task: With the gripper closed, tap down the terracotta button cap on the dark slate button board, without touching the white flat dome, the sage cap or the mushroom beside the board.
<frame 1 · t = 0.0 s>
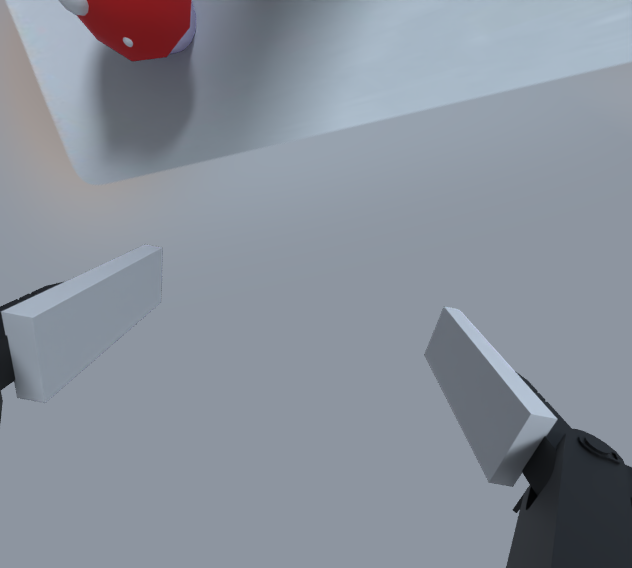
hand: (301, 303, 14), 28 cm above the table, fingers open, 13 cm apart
mushroom: (169, 19, 34), on the table
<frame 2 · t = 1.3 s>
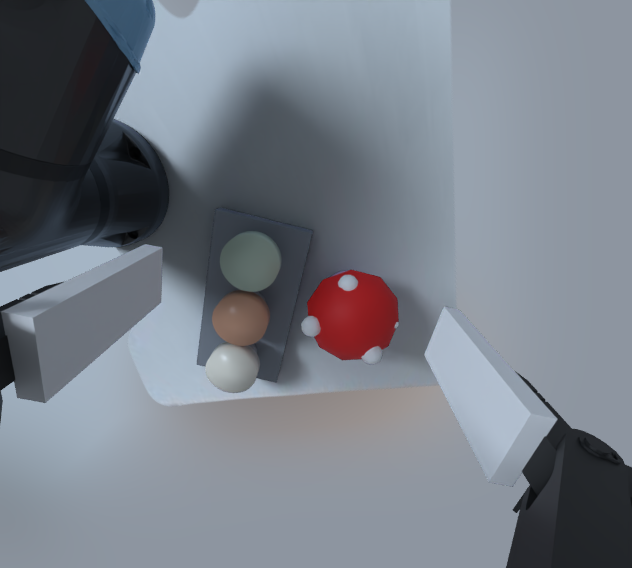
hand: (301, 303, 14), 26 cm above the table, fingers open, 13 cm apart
button board: (252, 299, 44), on the table
mushroom: (348, 290, 43), on the table
terracotta cap: (241, 317, 38), point 6 cm above the table, slide at 0.0 cm
white flat dome: (233, 367, 41), point 6 cm above the table, slide at 0.0 cm
sage cap: (251, 261, 36), point 6 cm above the table, slide at 0.0 cm
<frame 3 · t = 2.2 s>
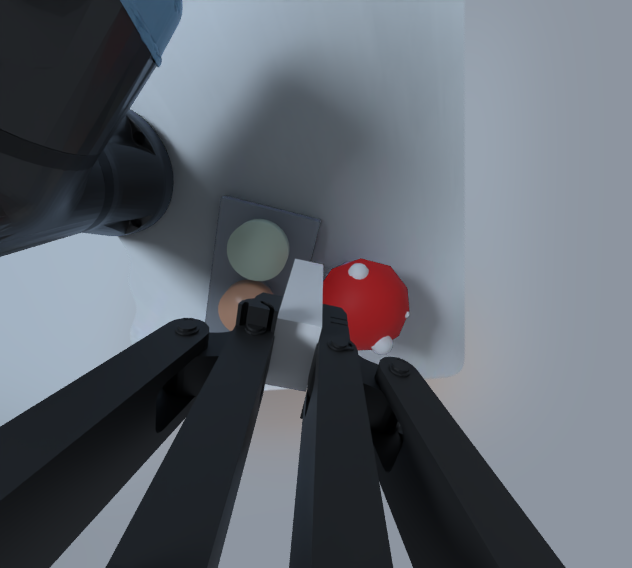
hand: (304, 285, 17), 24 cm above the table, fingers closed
button board: (257, 290, 43), on the table
mushroom: (355, 281, 42), on the table
terracotta cap: (248, 308, 38), point 6 cm above the table, slide at 0.0 cm
sage cap: (259, 250, 35), point 6 cm above the table, slide at 0.0 cm
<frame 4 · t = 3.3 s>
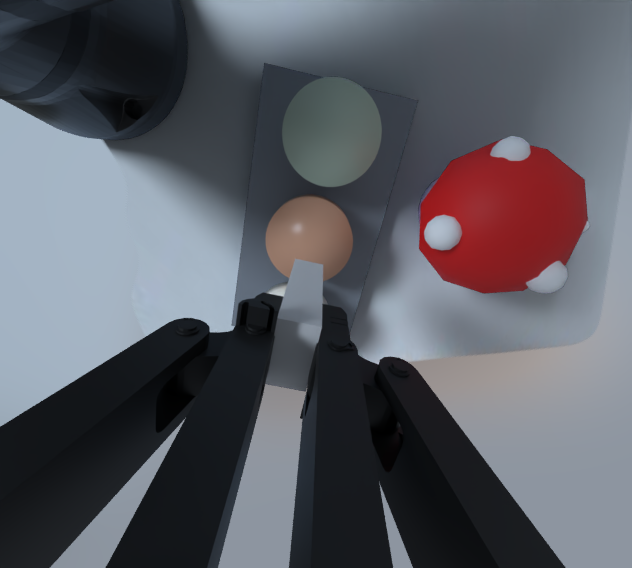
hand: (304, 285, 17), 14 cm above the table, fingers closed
button board: (312, 224, 30), on the table
mushroom: (455, 205, 29), on the table
terracotta cap: (309, 239, 24), point 6 cm above the table, slide at 0.0 cm
white flat dome: (292, 321, 27), point 6 cm above the table, slide at 0.0 cm
sage cap: (331, 136, 22), point 6 cm above the table, slide at 0.0 cm
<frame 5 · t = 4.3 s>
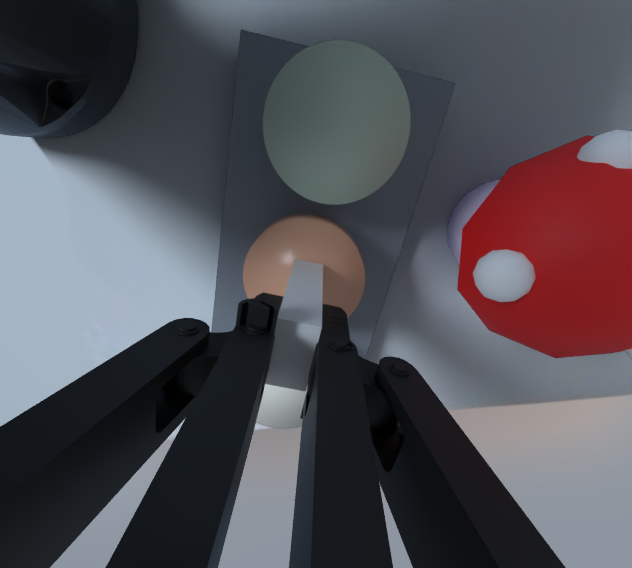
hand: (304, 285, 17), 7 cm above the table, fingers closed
button board: (309, 247, 23), on the table
mushroom: (495, 223, 22), on the table
terracotta cap: (305, 273, 18), point 6 cm above the table, slide at 0.0 cm, touching gripper
white flat dome: (282, 377, 21), point 6 cm above the table, slide at 0.0 cm
sage cap: (335, 131, 15), point 6 cm above the table, slide at 0.0 cm
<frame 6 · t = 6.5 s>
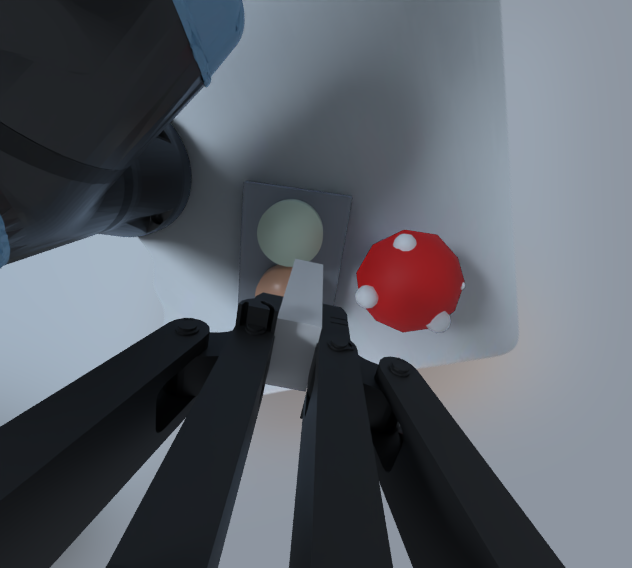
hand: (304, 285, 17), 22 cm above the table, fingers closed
button board: (289, 280, 40), on the table
mushroom: (393, 260, 39), on the table
terracotta cap: (285, 293, 36), point 4 cm above the table, slide at 1.4 cm
sage cap: (291, 233, 32), point 6 cm above the table, slide at 0.0 cm
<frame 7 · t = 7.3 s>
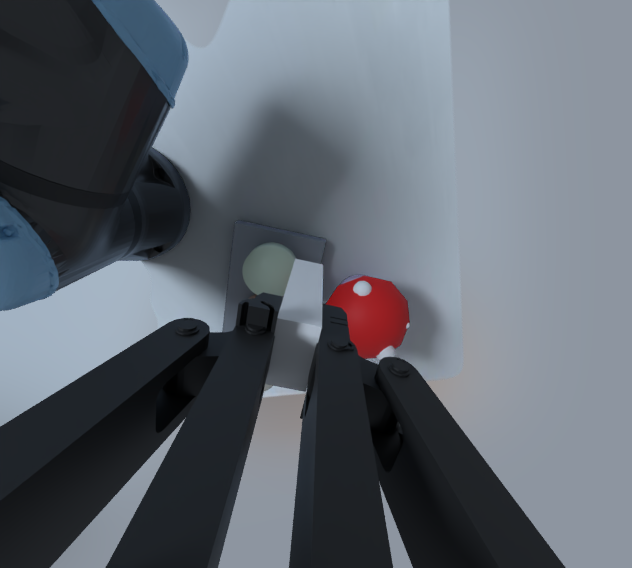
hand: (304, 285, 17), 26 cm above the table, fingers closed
button board: (269, 304, 46), on the table
mushroom: (359, 293, 46), on the table
terracotta cap: (264, 318, 42), point 4 cm above the table, slide at 1.4 cm
white flat dome: (254, 368, 44), point 6 cm above the table, slide at 0.0 cm
sage cap: (271, 270, 38), point 6 cm above the table, slide at 0.0 cm
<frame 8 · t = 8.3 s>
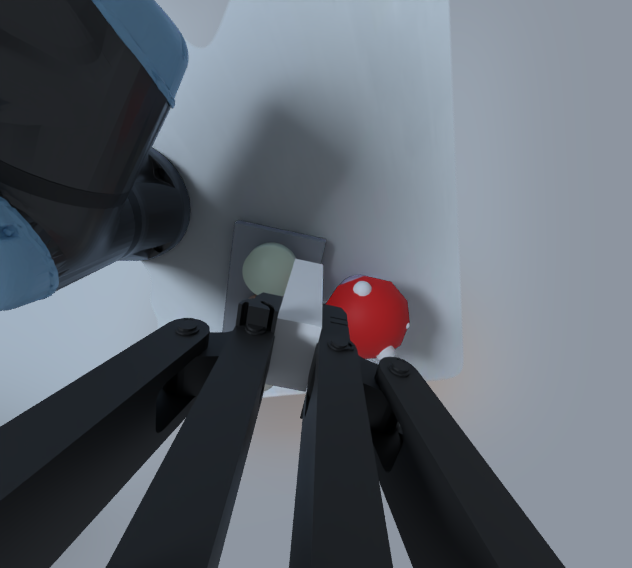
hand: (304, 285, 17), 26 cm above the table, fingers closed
button board: (269, 304, 46), on the table
mushroom: (359, 293, 46), on the table
terracotta cap: (264, 318, 42), point 4 cm above the table, slide at 1.4 cm
white flat dome: (254, 368, 44), point 6 cm above the table, slide at 0.0 cm
sage cap: (271, 270, 38), point 6 cm above the table, slide at 0.0 cm
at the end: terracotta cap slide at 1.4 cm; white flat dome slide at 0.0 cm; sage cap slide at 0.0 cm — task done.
